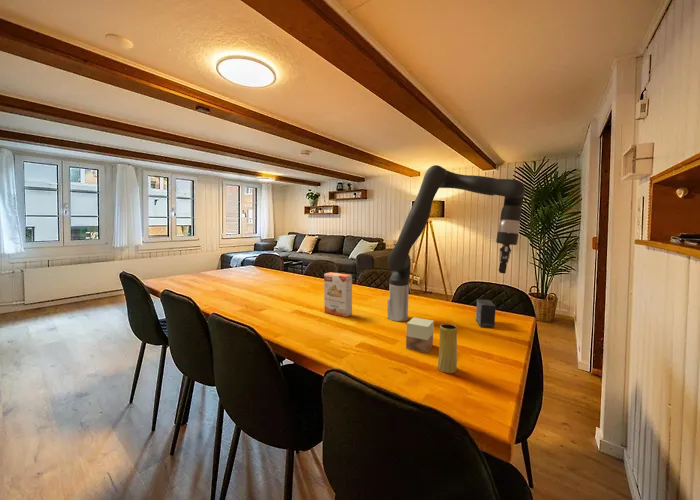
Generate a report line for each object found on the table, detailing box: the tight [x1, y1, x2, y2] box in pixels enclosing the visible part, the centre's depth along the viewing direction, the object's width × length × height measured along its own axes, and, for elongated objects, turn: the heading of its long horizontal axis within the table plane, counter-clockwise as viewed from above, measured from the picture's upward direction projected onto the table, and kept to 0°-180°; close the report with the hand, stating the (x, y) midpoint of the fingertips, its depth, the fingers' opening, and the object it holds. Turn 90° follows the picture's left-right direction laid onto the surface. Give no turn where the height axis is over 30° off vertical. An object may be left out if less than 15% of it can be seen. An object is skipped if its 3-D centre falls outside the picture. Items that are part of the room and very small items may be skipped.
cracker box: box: [323, 271, 353, 318], centre depth 157 cm, size 14×6×21 cm, turn 55°
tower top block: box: [406, 317, 435, 340], centre depth 116 cm, size 8×8×5 cm
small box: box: [475, 298, 497, 329], centre depth 142 cm, size 11×6×10 cm, turn 168°
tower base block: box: [405, 334, 434, 354], centre depth 117 cm, size 8×8×5 cm
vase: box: [437, 323, 458, 374], centre depth 98 cm, size 6×6×14 cm
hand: (501, 272), depth 122 cm, fingers open, 8 cm apart
